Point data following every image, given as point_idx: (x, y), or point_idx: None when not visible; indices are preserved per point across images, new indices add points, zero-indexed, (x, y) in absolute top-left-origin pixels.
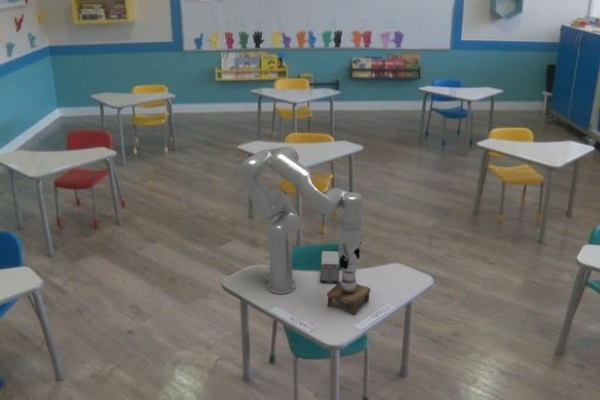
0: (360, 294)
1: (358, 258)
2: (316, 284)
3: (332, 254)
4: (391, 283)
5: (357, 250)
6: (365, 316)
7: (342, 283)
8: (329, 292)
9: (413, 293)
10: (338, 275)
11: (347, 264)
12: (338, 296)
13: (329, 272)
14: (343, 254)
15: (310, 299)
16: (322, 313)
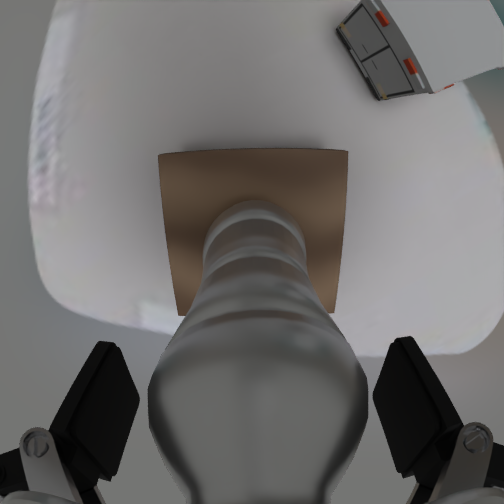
0: None
1: (376, 399)
2: (312, 19)
3: (486, 30)
4: (452, 283)
5: (404, 469)
6: None
7: (206, 243)
8: (173, 161)
9: None
10: (394, 97)
11: (121, 435)
12: (170, 225)
13: (377, 49)
14: (187, 436)
15: (181, 62)
16: (124, 170)
